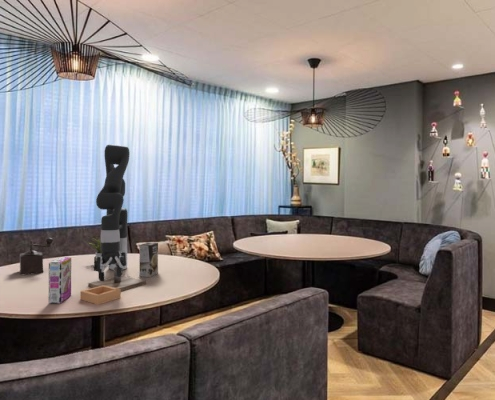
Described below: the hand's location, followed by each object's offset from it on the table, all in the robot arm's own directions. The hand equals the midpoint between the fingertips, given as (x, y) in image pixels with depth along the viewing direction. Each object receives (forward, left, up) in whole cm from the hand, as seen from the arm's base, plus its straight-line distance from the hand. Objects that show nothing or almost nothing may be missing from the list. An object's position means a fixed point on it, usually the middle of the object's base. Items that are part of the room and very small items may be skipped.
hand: (110, 278), depth 159 cm
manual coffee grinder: (-67, +5, -8) cm, 68 cm away
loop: (0, -5, -7) cm, 9 cm away
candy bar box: (-12, -15, -8) cm, 21 cm away
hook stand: (-11, +12, -7) cm, 18 cm away
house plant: (-58, +39, -8) cm, 71 cm away
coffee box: (-14, +34, -8) cm, 38 cm away
